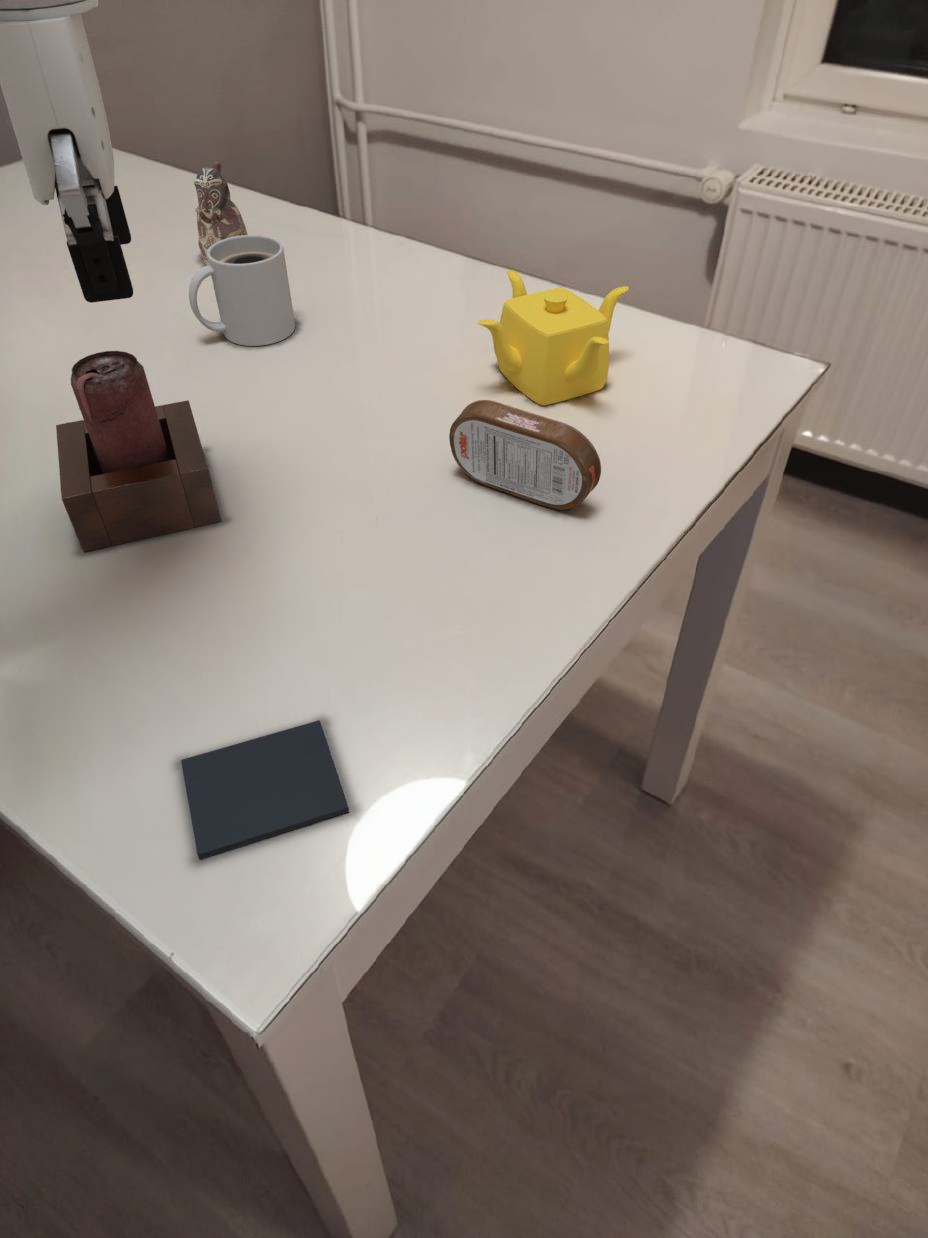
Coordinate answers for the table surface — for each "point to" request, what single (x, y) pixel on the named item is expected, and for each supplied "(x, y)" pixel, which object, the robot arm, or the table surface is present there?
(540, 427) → the tin
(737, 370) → the table surface
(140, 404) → the can
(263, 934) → the table surface
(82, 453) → the holder
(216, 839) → the mat
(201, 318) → the mug
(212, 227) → the figurine
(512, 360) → the teapot
